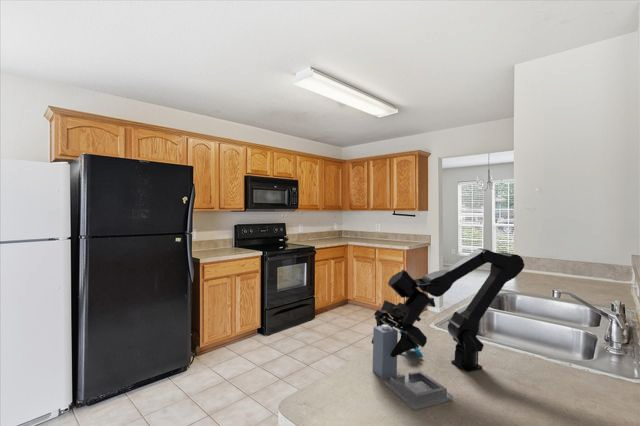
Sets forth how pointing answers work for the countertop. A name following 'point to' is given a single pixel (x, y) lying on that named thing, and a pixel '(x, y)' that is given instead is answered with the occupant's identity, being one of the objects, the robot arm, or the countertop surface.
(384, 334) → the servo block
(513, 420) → the countertop surface
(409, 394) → the grey square tray
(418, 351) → the gear
